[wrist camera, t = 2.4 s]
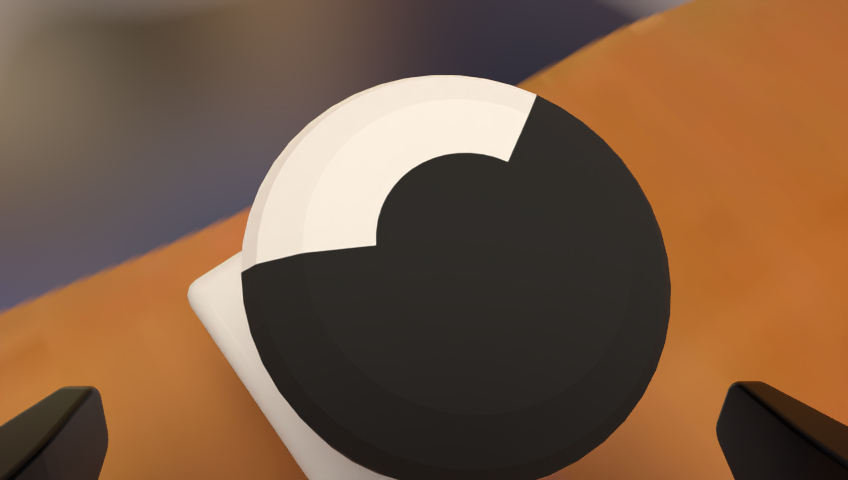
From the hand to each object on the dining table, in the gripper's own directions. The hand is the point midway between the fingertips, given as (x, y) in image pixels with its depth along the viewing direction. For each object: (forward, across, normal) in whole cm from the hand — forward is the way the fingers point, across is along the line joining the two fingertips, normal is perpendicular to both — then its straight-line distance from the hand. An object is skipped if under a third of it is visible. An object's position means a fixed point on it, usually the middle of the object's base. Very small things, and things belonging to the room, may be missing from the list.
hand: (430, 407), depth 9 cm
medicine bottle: (+9, 0, +6) cm, 11 cm away
